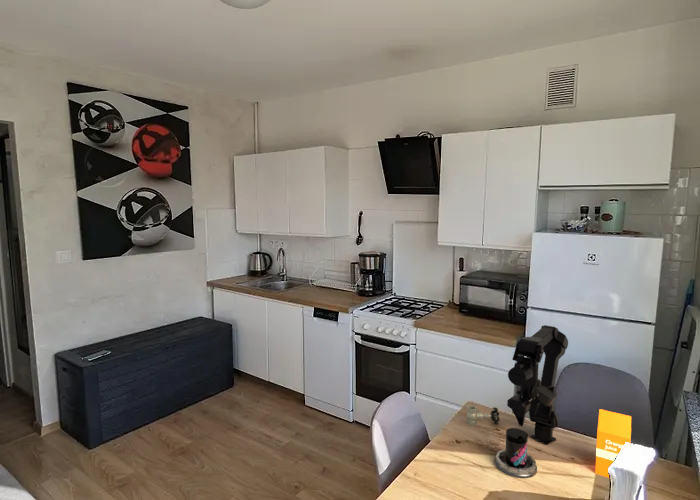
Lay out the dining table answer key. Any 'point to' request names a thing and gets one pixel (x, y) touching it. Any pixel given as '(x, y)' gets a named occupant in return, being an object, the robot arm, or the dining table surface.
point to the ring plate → (515, 472)
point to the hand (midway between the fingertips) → (527, 421)
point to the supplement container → (516, 448)
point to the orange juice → (610, 438)
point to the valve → (481, 415)
